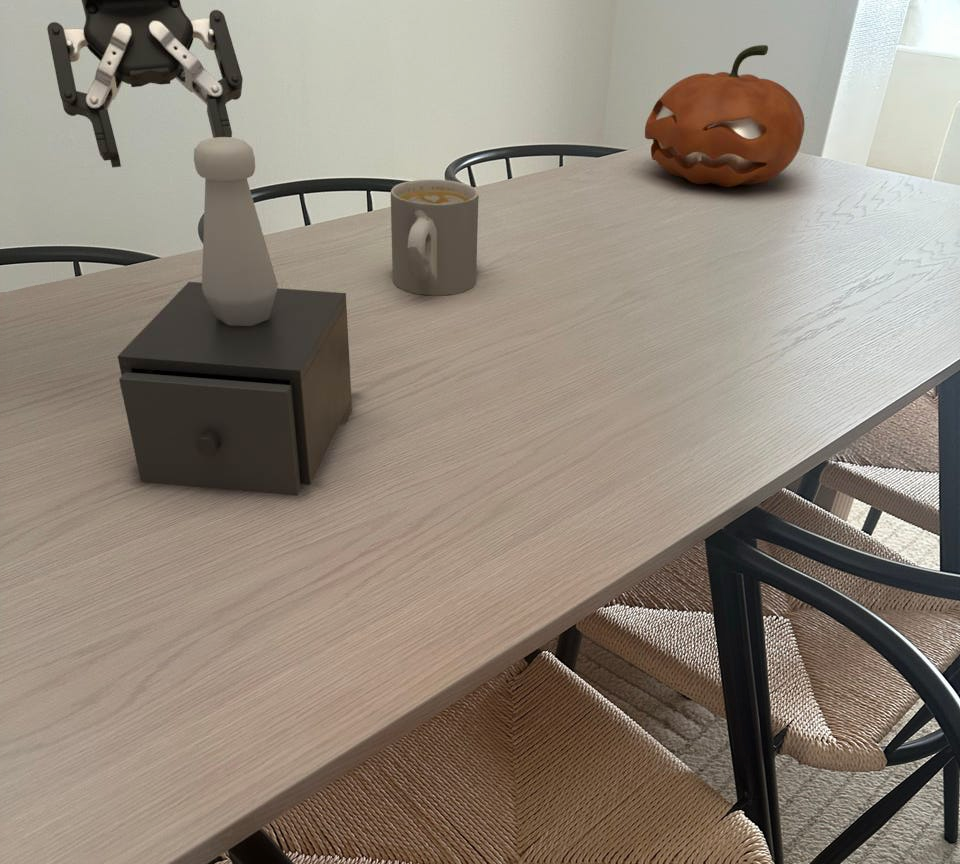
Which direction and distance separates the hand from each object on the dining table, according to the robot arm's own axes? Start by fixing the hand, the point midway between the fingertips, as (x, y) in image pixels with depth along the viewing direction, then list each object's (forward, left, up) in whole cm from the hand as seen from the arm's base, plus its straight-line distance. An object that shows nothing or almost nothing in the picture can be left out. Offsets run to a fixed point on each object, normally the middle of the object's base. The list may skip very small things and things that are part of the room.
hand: (169, 157), depth 80 cm
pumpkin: (+55, +88, -20) cm, 105 cm away
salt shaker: (+8, -8, -10) cm, 15 cm away
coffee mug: (+17, +32, -20) cm, 41 cm away
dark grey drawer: (+8, -12, -19) cm, 24 cm away
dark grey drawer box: (+8, -9, -20) cm, 24 cm away
